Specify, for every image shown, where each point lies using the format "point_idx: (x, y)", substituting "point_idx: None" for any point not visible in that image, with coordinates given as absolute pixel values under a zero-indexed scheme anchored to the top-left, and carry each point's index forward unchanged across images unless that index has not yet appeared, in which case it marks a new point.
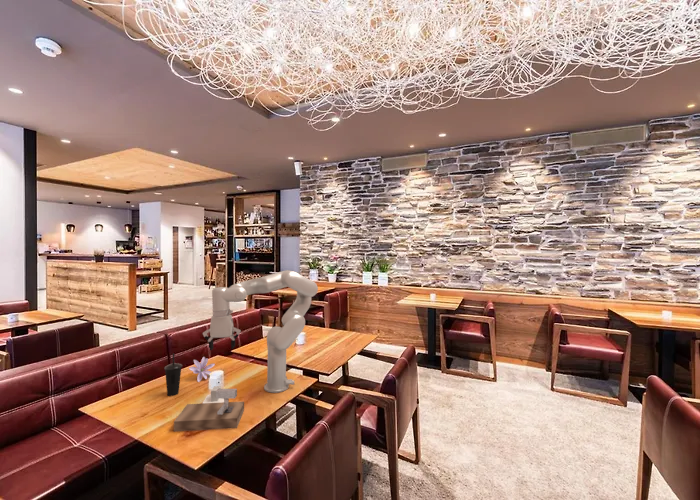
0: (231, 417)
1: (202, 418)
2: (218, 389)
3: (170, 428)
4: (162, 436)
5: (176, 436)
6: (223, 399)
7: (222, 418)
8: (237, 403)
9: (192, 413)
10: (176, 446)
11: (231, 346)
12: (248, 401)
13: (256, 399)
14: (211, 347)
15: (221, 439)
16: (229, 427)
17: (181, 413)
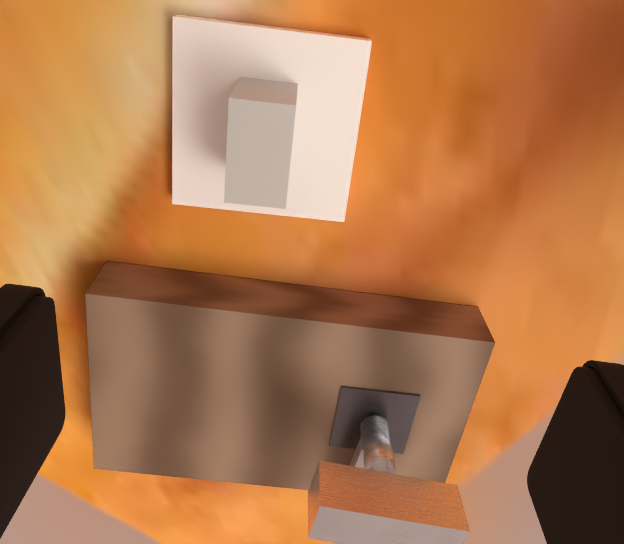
0: None
1: (246, 472)
2: (324, 518)
3: (79, 397)
4: (73, 450)
5: None
6: (331, 152)
7: None
8: (446, 359)
9: (169, 415)
10: (174, 521)
11: (550, 533)
12: (523, 188)
13: (588, 169)
14: (32, 472)
15: None
16: None
17: (99, 401)
